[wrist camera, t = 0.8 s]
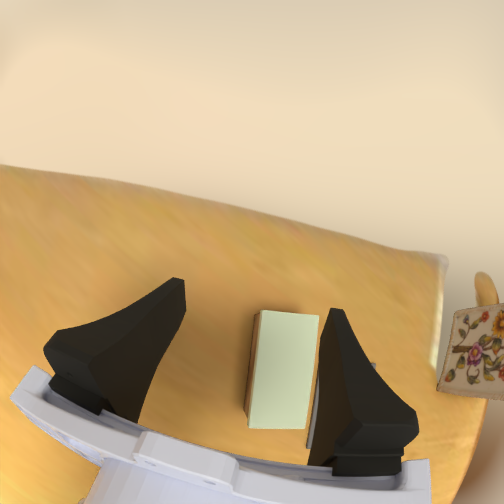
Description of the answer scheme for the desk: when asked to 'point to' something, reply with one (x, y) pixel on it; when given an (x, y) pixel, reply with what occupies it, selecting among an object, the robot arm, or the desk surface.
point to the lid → (282, 370)
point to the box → (251, 364)
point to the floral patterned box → (475, 354)
